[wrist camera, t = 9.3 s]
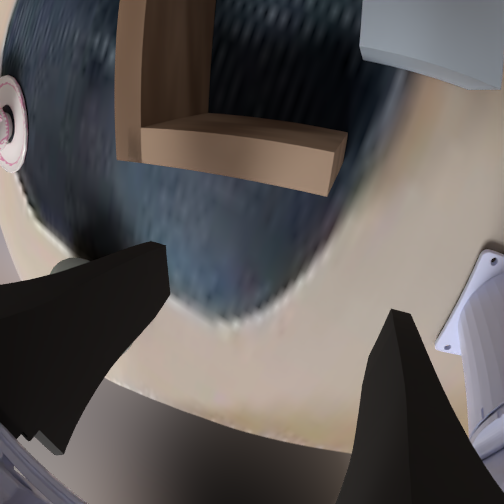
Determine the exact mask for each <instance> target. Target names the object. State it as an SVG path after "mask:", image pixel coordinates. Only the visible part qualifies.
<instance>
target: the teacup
mask: <svg viewBox="0 0 504 504" xmlns="http://www.w3.org/2000/svg"><path fill="white" fill-rule="evenodd" d="M4 105H9V106H10V108H11V109H12V112H13V115H14V121H15V134H14V138H13V141H12V142H11V143H7V141H8V140H9V139H10V138H11V136H12V130H13V126H12V119H11V116H10V115H9V113H7V112H4V111H3V110H2V108H3V107H4ZM27 141H28V123H27V112H26V106H25V100H24V97H23V94H22V91H21V88H20V86H19V84H18V83H17V81H16V80H15V78H14V77H12V76H10V75H6V76H3V77H0V165H1V167H2V168H3V169H4V170H5V171H6V172H10V173H14V172H16V171H18V170H20V168H21V166H22V164H23V163H24V160H25V155H26V151H27Z"/></svg>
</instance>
